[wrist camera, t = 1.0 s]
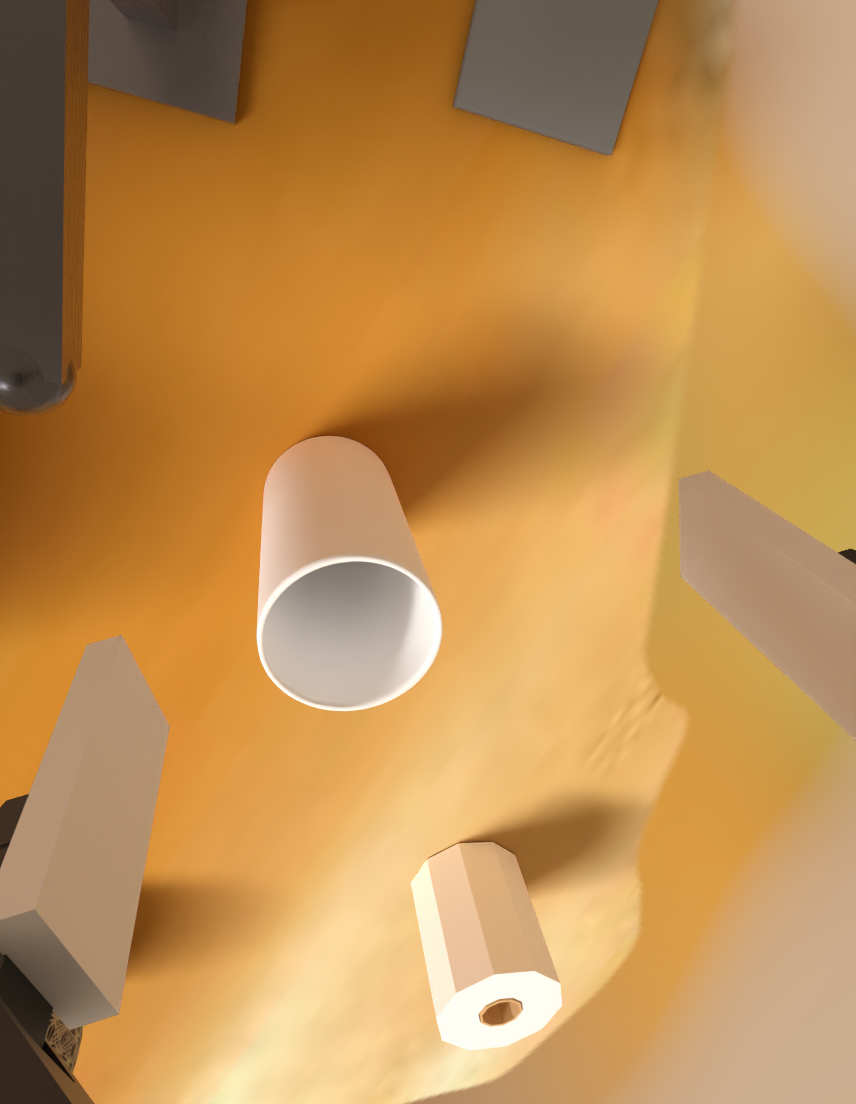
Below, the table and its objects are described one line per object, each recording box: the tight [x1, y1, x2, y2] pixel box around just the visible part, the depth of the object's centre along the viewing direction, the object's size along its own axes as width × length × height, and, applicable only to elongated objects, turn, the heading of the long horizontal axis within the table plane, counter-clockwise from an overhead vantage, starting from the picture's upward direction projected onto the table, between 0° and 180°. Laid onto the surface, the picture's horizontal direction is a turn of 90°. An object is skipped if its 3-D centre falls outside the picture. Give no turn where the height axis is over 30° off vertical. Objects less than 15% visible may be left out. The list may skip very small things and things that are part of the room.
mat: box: [453, 0, 659, 155], centre depth 35 cm, size 9×9×1 cm
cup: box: [257, 436, 442, 711], centre depth 37 cm, size 8×8×16 cm
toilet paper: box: [411, 842, 562, 1050], centre depth 59 cm, size 10×10×12 cm
